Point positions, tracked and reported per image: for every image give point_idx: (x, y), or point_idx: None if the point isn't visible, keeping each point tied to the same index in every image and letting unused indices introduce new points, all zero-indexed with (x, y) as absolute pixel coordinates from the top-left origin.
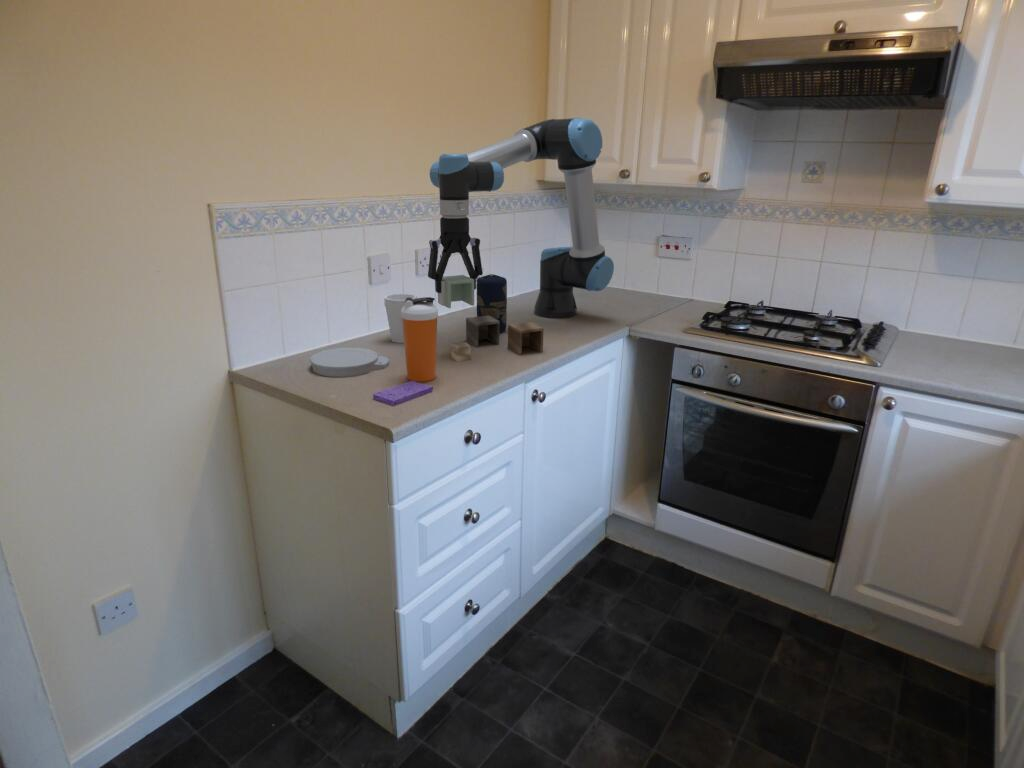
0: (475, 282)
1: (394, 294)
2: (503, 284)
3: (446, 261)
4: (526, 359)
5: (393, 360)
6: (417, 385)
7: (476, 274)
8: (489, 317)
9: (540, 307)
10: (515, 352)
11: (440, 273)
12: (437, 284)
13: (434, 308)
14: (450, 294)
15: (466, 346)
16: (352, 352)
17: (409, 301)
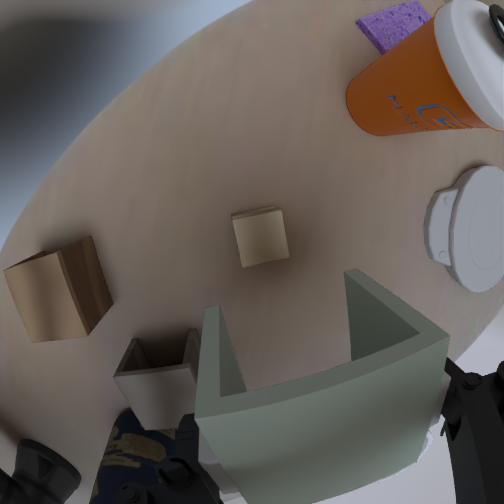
0: (179, 448)
1: (395, 474)
2: (94, 500)
3: (497, 498)
4: (81, 192)
5: (412, 248)
6: (387, 36)
7: (166, 494)
8: (143, 415)
9: (64, 472)
10: (97, 258)
11: (489, 408)
12: (455, 367)
13: (464, 6)
14: (381, 300)
15: (246, 217)
16: (479, 259)
17: None
